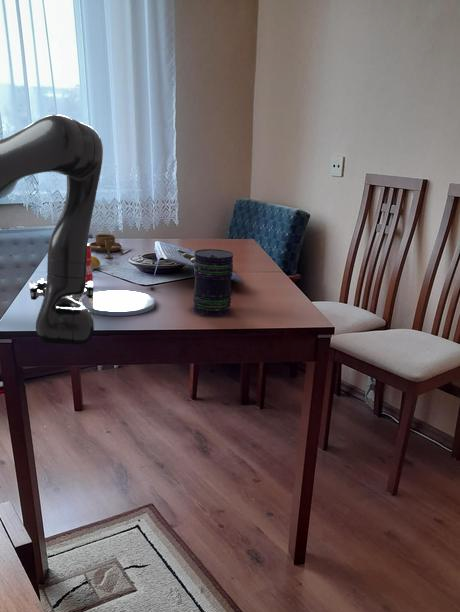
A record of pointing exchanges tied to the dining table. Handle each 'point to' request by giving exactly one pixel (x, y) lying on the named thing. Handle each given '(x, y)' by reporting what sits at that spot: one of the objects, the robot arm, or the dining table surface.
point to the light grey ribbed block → (180, 256)
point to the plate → (118, 303)
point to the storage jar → (212, 282)
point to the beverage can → (89, 265)
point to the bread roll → (95, 262)
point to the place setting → (106, 244)
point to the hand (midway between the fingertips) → (61, 281)
